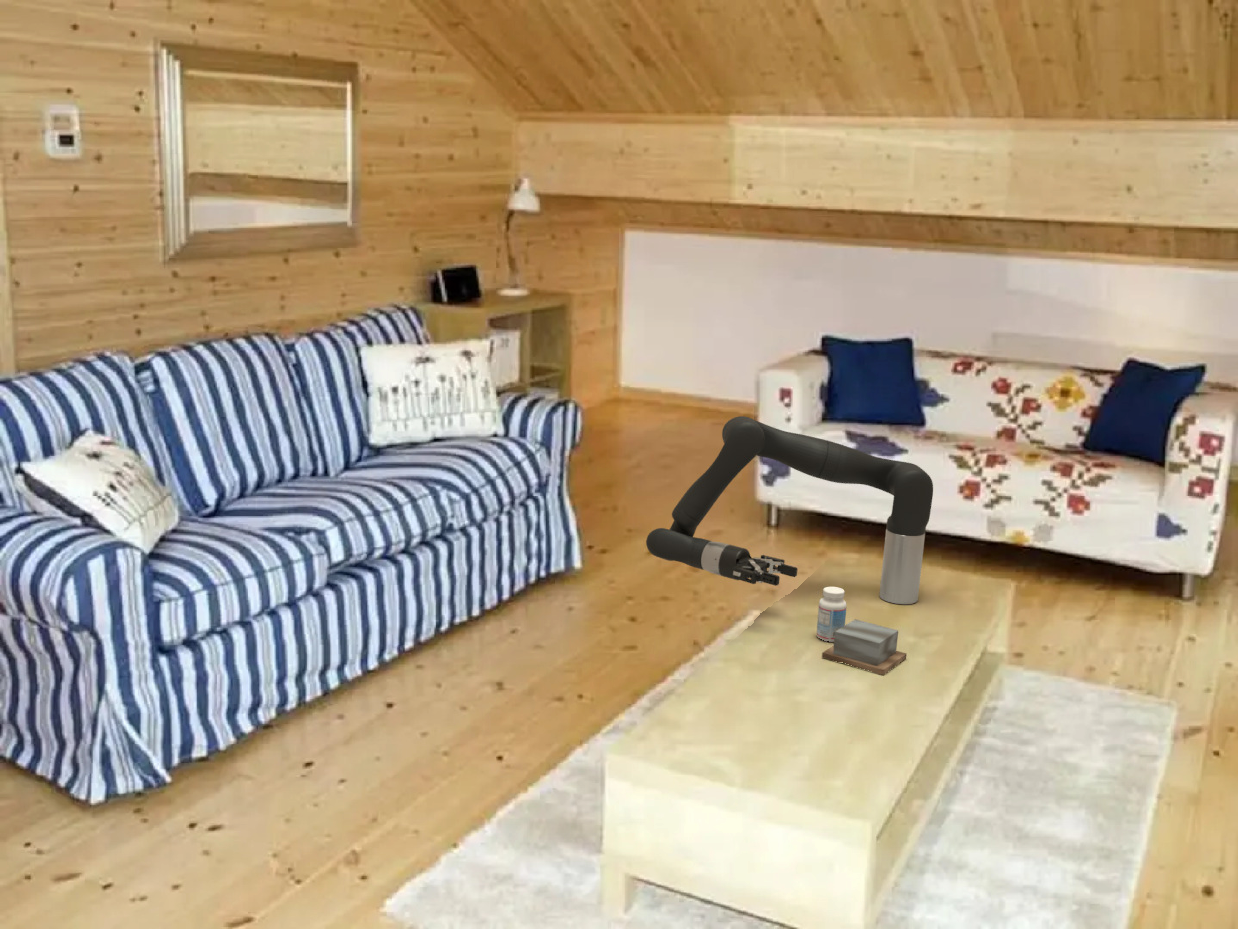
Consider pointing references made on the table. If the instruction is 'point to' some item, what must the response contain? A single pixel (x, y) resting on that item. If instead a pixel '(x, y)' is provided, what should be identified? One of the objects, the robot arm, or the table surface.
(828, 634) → the pill bottle
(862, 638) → the tower base
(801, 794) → the table surface
